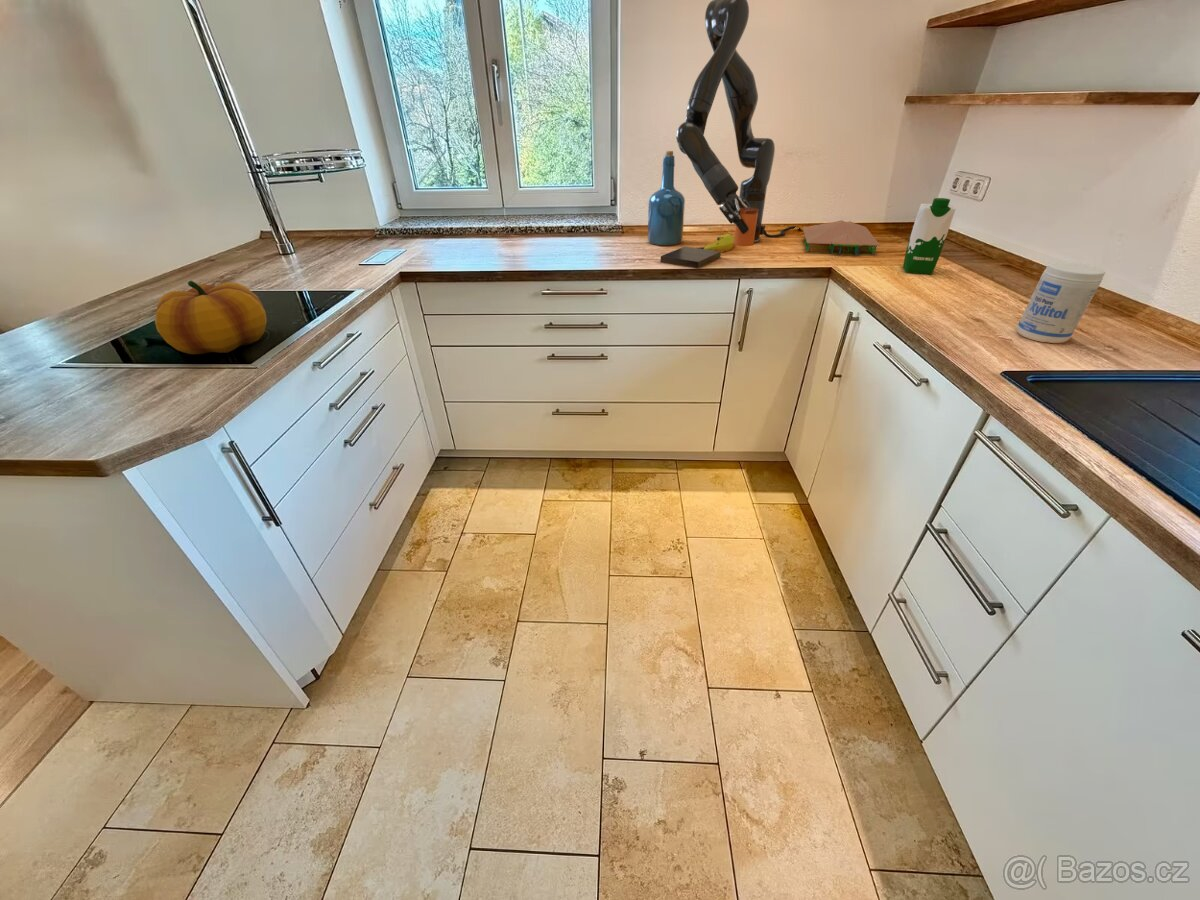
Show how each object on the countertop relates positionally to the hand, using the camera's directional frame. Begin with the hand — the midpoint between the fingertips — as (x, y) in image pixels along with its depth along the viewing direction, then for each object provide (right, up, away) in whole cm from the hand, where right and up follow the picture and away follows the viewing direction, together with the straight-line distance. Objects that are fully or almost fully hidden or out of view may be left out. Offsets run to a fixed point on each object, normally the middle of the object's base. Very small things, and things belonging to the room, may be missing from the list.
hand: (750, 229), depth 155 cm
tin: (-1, -3, +3) cm, 5 cm away
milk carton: (+51, -13, 0) cm, 52 cm away
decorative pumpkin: (-133, -43, -37) cm, 144 cm away
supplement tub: (+51, -42, -43) cm, 79 cm away
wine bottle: (-21, +12, +39) cm, 46 cm away
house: (+40, +7, +29) cm, 50 cm away
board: (-15, -3, +17) cm, 23 cm away
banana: (-4, +6, +30) cm, 31 cm away
